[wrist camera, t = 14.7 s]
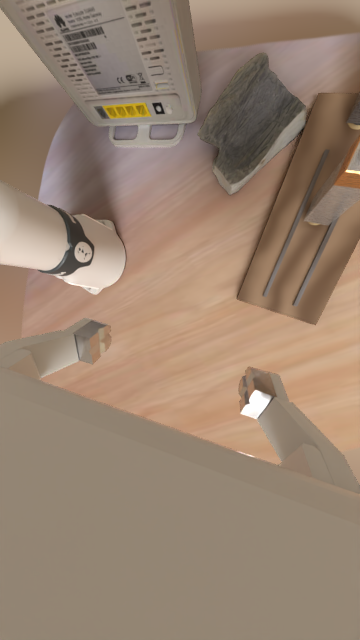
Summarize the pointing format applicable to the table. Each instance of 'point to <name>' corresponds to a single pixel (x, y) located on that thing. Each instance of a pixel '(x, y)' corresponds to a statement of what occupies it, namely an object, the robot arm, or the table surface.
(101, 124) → the network device
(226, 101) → the fossil
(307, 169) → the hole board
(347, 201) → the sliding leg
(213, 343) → the table surface
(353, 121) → the fixed leg
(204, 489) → the robot arm
